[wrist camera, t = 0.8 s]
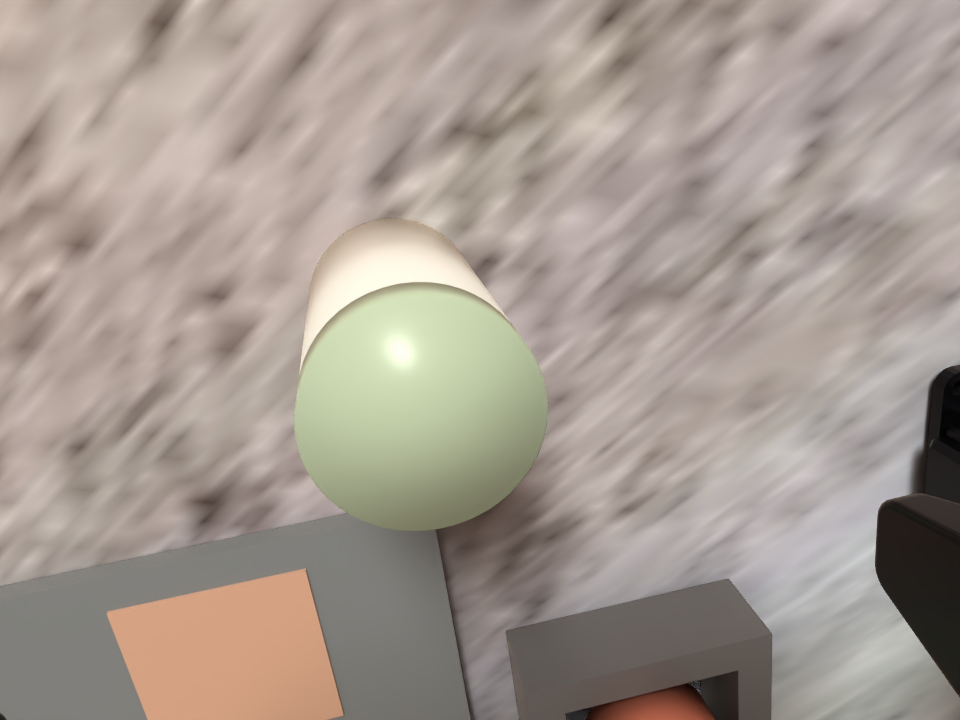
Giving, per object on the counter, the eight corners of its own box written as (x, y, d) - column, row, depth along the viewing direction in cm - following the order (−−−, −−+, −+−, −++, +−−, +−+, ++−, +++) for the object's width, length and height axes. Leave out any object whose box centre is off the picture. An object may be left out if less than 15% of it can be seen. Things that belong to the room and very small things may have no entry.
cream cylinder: (462, 206, 18) (533, 277, 11) (484, 361, 19) (558, 503, 13) (292, 234, 17) (266, 324, 11) (327, 391, 19) (324, 553, 12)
